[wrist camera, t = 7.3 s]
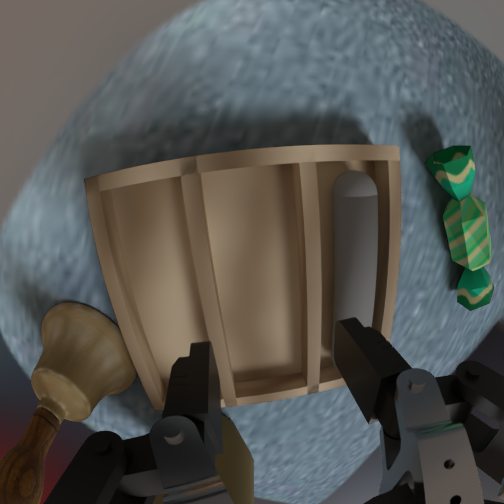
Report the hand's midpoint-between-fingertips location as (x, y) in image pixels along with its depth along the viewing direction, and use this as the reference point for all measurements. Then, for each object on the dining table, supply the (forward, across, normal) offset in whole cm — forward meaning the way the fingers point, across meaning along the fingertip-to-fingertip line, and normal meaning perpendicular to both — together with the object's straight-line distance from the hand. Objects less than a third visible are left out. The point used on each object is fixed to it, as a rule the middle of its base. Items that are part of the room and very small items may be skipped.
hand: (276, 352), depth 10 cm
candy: (+7, -16, -2) cm, 17 cm away
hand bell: (+7, +13, +4) cm, 15 cm away
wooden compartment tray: (+7, 0, 0) cm, 7 cm away
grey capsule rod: (+6, -5, 0) cm, 8 cm away
